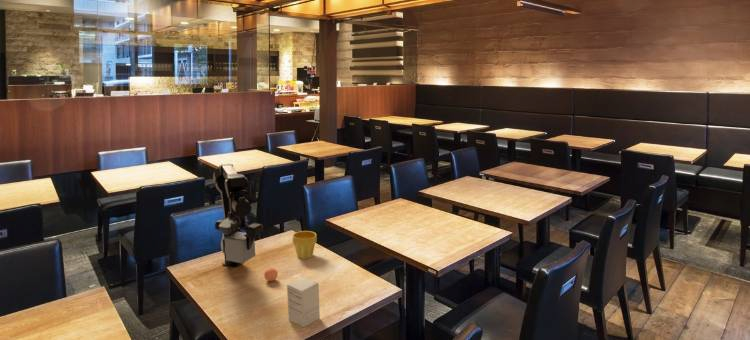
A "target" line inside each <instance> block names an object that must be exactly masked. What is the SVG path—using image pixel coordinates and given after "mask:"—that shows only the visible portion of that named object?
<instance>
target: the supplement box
mask: <svg viewBox="0 0 750 340" xmlns="http://www.w3.org/2000/svg"><path fill="white" fill-rule="evenodd" d="M319 290H320V289H319V282H317V281H315V280H312V279H310V278H307V277H305V276H303V277H301V278H298V279H296V280H294V281H292V282H290V283H287V284H286V291H287V292H286V293H287V294H286V295H287V308H288V309H287V311H288V314H287V315H288V320H289V321H291V322H292V323H293V324H296V325H299V326H300V327H302V328H305V327H307V326H308V325H310V324H312V323H313V322H316V321H317V320H318V319H321V316H320V314H321V313H320V293H319V292H320V291H319Z"/></svg>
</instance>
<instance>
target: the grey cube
mask: <svg viewBox="0 0 750 340" xmlns="http://www.w3.org/2000/svg"><path fill="white" fill-rule="evenodd" d="M245 234H246V232H242V231H241V232H236V233H234V234H232V235H230V236H228V237H226V238H224V239H225V253H226V260H228V261H233V262H237V263H241V264H244V263H246V262H248V261H249V260H251V259H253V258H254V257H256V241H255V239H254V241H253V244H252V246H251V248H250V250H248V249H247V239H246V237H245V236H244V235H245Z"/></svg>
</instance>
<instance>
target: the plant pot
mask: <svg viewBox="0 0 750 340" xmlns="http://www.w3.org/2000/svg"><path fill="white" fill-rule="evenodd" d="M317 236H318V235H317V233H316V232H314V231H310V230H302V231H301V230H299V231H297V232H294V233H293V234H292V243H293V244H294V248H295V252H296V256H297V259H301V260H306V259H307V258H308V259H310V258H312V257H313V255H314V251H315V245H316V243H317V242H318V241H317V240H318V239H317V238H318V237H317Z"/></svg>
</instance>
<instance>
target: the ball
mask: <svg viewBox="0 0 750 340" xmlns="http://www.w3.org/2000/svg"><path fill="white" fill-rule="evenodd" d="M263 275H264V279H265V280H266V281H268V282H274V281H275V280H276V279H277V277H278V275H279V274H278V271H277V269H276V268H273V267H269V268H267V269H266V270H265V271H264V273H263Z"/></svg>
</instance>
